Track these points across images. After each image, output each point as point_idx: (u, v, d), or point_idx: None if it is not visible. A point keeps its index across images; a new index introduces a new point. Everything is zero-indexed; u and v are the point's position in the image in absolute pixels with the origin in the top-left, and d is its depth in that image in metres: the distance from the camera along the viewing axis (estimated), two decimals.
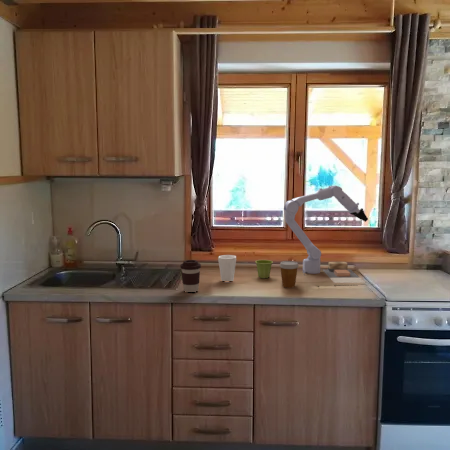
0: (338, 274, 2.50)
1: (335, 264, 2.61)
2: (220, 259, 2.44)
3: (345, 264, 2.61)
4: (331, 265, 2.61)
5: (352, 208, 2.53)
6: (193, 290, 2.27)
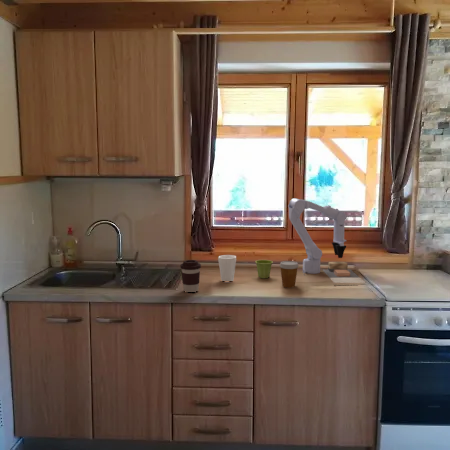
0: (338, 274, 2.50)
1: (335, 264, 2.61)
2: (220, 259, 2.44)
3: (345, 264, 2.61)
4: (331, 265, 2.61)
5: (339, 239, 2.58)
6: (193, 290, 2.27)
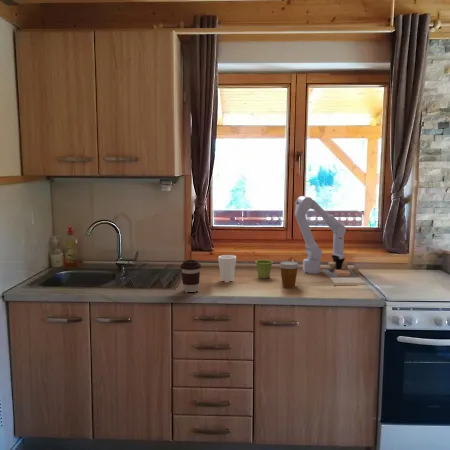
0: (338, 274, 2.50)
1: (335, 264, 2.61)
2: (220, 259, 2.44)
3: (345, 264, 2.61)
4: (331, 265, 2.61)
5: (338, 252, 2.59)
6: (193, 290, 2.27)
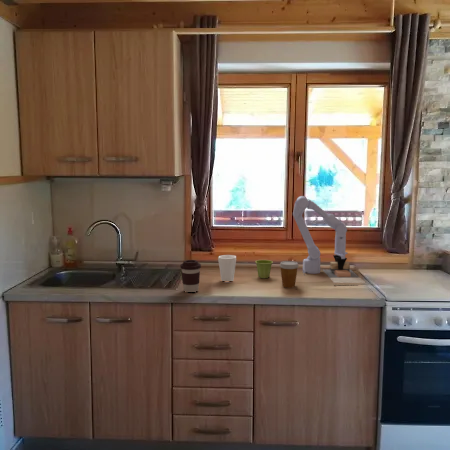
0: (338, 274, 2.49)
1: (337, 264, 2.57)
2: (220, 259, 2.44)
3: (347, 264, 2.57)
4: (333, 265, 2.57)
5: (340, 252, 2.55)
6: (193, 290, 2.27)
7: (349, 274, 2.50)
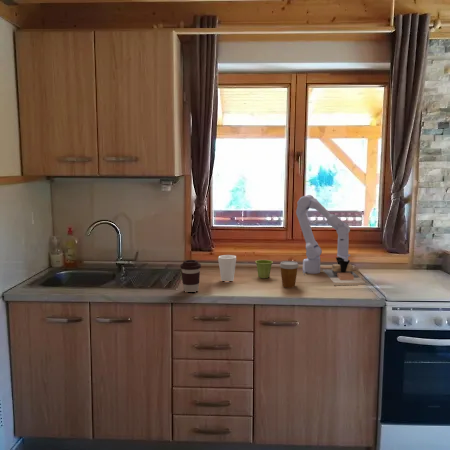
0: (341, 277, 2.44)
1: None
2: (220, 259, 2.44)
3: (350, 266, 2.51)
4: (335, 267, 2.51)
5: (342, 254, 2.49)
6: (193, 290, 2.27)
7: (352, 277, 2.44)
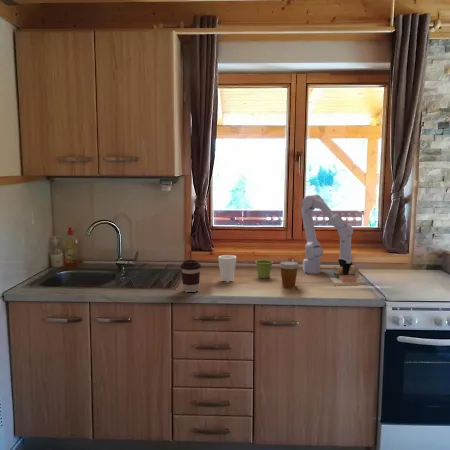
0: (344, 280, 2.39)
1: (342, 269, 2.46)
2: (220, 259, 2.44)
3: (352, 269, 2.46)
4: (338, 270, 2.46)
5: (345, 256, 2.44)
6: (193, 290, 2.27)
7: (355, 279, 2.39)
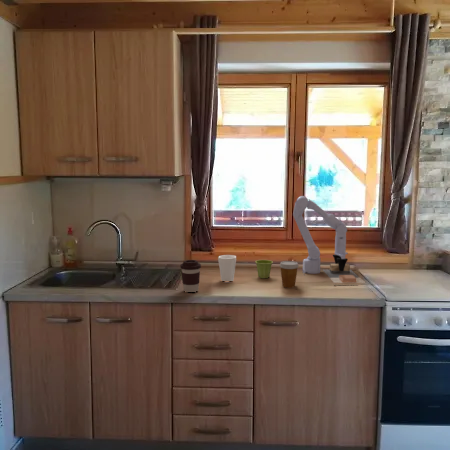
0: (344, 280, 2.39)
1: (337, 266, 2.56)
2: (220, 259, 2.44)
3: (347, 266, 2.56)
4: (333, 267, 2.56)
5: (340, 252, 2.54)
6: (193, 290, 2.27)
7: (355, 279, 2.39)
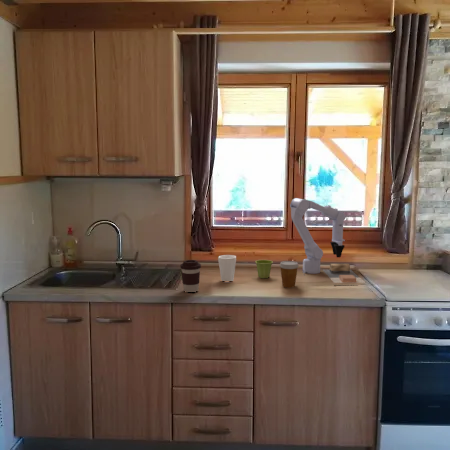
0: (344, 280, 2.39)
1: (337, 266, 2.56)
2: (220, 259, 2.44)
3: (347, 266, 2.56)
4: (333, 267, 2.56)
5: (337, 239, 2.60)
6: (193, 290, 2.27)
7: (355, 279, 2.39)
